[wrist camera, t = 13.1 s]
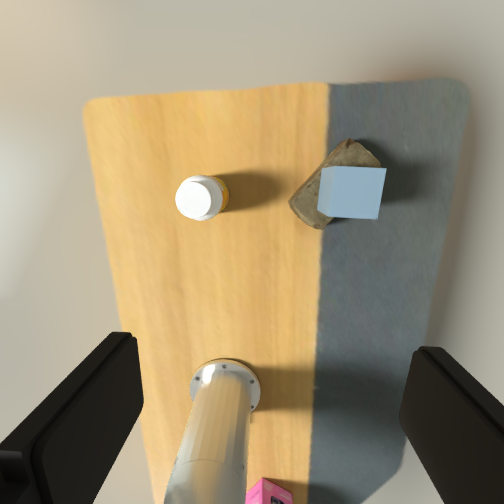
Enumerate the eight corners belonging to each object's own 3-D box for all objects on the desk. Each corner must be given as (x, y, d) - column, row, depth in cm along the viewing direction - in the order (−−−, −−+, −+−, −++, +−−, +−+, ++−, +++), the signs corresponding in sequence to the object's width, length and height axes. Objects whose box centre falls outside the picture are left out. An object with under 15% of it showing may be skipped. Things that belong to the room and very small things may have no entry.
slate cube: (356, 212, 32) (377, 219, 26) (316, 209, 32) (328, 216, 27) (363, 170, 31) (386, 168, 25) (321, 168, 31) (335, 165, 25)
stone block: (370, 166, 35) (387, 165, 30) (312, 229, 38) (319, 237, 33) (340, 138, 34) (352, 131, 30) (283, 204, 37) (286, 208, 32)
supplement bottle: (211, 221, 38) (195, 235, 29) (184, 195, 37) (158, 200, 28) (237, 195, 37) (228, 200, 28) (210, 167, 36) (191, 163, 27)
